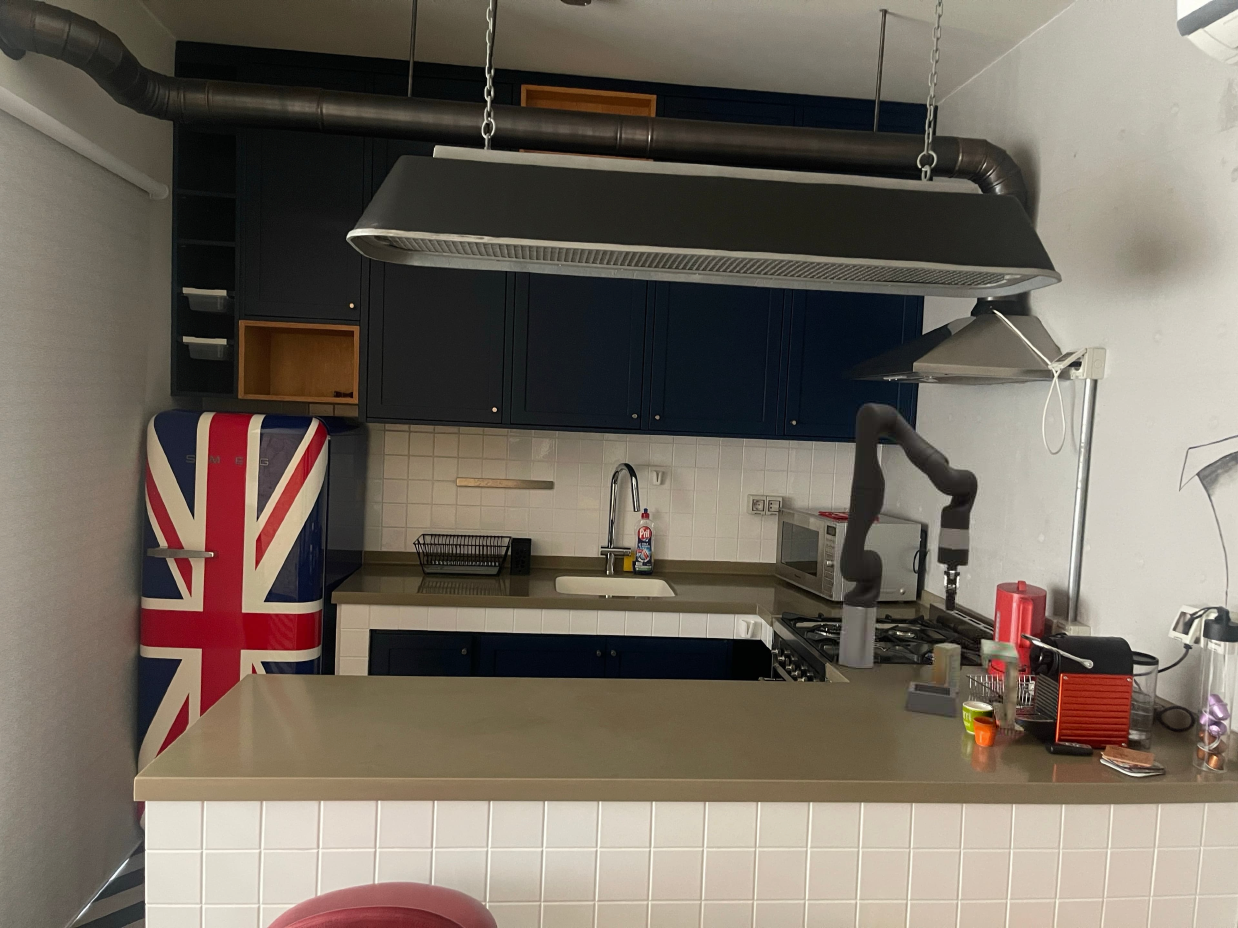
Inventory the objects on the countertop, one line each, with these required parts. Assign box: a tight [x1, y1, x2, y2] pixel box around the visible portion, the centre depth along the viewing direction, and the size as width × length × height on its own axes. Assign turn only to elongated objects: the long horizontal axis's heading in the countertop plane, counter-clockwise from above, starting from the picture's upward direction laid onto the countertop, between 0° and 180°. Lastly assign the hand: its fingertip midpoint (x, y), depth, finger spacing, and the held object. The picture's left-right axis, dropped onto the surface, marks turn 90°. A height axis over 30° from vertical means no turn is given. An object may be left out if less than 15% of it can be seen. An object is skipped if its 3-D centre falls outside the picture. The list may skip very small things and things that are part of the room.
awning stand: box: [979, 638, 1025, 732], centre depth 202 cm, size 10×18×16 cm, turn 159°
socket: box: [907, 681, 957, 718], centre depth 207 cm, size 10×10×4 cm
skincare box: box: [931, 642, 962, 693], centre depth 224 cm, size 6×4×12 cm
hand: (949, 608), depth 224 cm, fingers open, 8 cm apart
